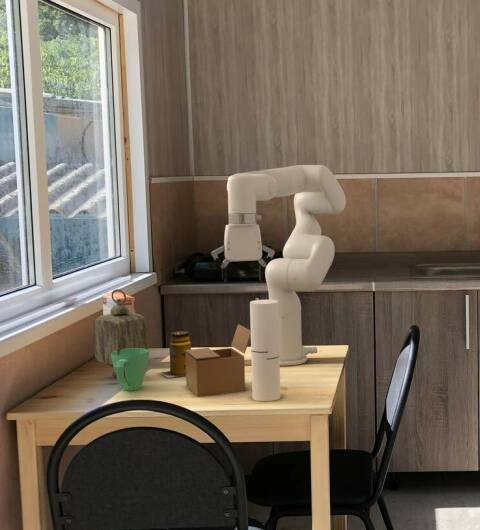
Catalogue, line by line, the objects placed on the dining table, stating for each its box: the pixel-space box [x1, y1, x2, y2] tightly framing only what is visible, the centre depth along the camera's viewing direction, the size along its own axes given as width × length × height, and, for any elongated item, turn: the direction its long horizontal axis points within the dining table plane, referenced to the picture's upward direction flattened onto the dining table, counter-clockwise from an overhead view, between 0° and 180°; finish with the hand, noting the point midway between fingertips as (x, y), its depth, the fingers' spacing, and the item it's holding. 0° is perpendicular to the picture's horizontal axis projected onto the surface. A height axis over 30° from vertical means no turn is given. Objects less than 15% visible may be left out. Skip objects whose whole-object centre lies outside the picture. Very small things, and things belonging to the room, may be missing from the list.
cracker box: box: [102, 292, 136, 315], centre depth 269 cm, size 14×6×21 cm, turn 34°
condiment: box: [159, 330, 192, 379], centre depth 255 cm, size 7×8×12 cm
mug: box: [111, 348, 150, 392], centre depth 236 cm, size 15×10×10 cm
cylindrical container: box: [249, 299, 281, 402], centre depth 227 cm, size 7×7×25 cm
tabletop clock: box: [92, 288, 149, 379], centre depth 251 cm, size 14×9×25 cm, turn 50°
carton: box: [185, 347, 246, 397], centre depth 237 cm, size 13×12×10 cm
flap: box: [230, 323, 251, 354], centre depth 240 cm, size 6×12×1 cm
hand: (243, 281), depth 246 cm, fingers open, 9 cm apart
